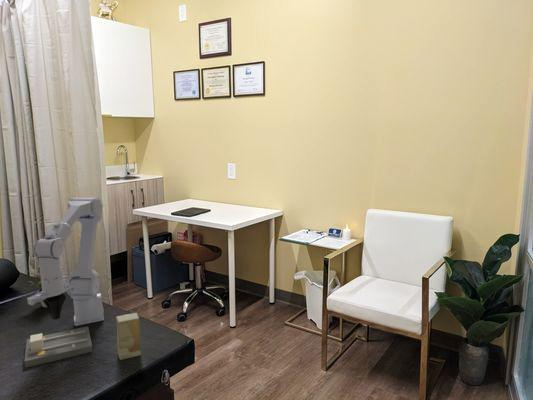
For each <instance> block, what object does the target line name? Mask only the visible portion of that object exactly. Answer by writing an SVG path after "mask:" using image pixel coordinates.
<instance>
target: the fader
mask: <svg viewBox="0 0 533 400" xmlns="http://www.w3.org/2000/svg"><path fill="white" fill-rule="evenodd" d="M43 336H44V334H43V333H42V332H41V333H37V334H31V335H30V338H29V339H30V347H31V351H33V350H38V349H42V348H43Z"/></svg>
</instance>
